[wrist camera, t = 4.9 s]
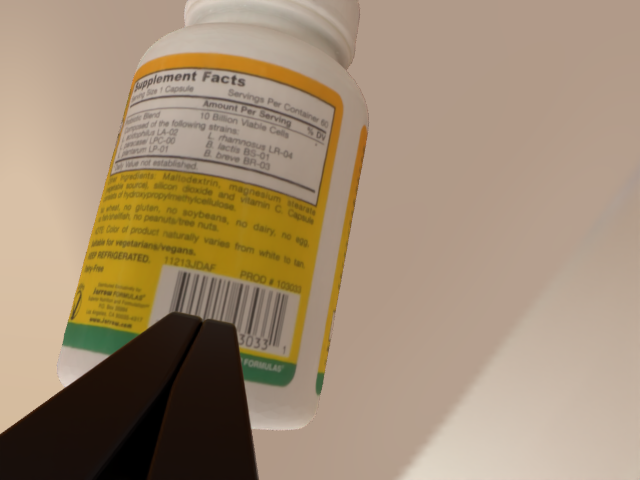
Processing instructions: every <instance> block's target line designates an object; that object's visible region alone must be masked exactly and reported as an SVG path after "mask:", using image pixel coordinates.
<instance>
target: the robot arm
mask: <svg viewBox="0 0 640 480" xmlns="http://www.w3.org/2000/svg"><path fill="white" fill-rule="evenodd" d="M0 480H259V477H258V470H257V463H256V457H255V451H254V444H253V436H252V430H251V423H250V416H249V409H248V403H247V396H246V389H245V382H244V376H243V369H242V362H241V356H240V349H239V342H238V335H237V329H236V326H235V325H234V324H233V323H229V322H224V321H219V320H215V319H206V320H204V321H203V319H202V318H201V317H200V316H196V315H191V314H187V313H182V312H177V311H174V312H171V313H169V314H167V315H166V316H165V317H163V318H162V319H160V320H159V321H158V322H156V323H155V324H153V325H152V326H151V327H149V328H148V329H146V330H145V331H144V332H142V333H141V334H139V335H138V336H137V337H135V338H134V339H132V340H131V341H130V342H128V343H127V344H125V345H124V346H123V347H121V348H120V349H118V350H117V351H116V352H114V353H113V354H111V355H110V356H109V357H107V358H106V359H104V360H103V361H102V362H100V363H99V364H98V365H96V366H95V367H93V368H92V369H91V370H89V371H88V372H86V373H85V374H84V375H82V376H81V377H79V378H78V379H77V380H75V381H74V382H72V383H71V384H70V385H68V386H67V387H65V388H64V389H63V390H61V391H60V392H58V393H57V394H56V395H54V396H53V397H51V398H50V399H49V400H47V401H46V402H45V403H43V404H42V405H40V406H39V407H38V408H36V409H35V410H33V411H32V412H30V413H29V414H28V415H27V416H25V417H24V418H23V419H21V420H19V421H18V422H17V423H15V424H14V425H12V426H11V427H10V428H8V429H7V430H5V431H4V432H3V433H1V434H0Z"/></svg>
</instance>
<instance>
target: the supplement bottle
mask: <svg viewBox="0 0 640 480" xmlns="http://www.w3.org/2000/svg"><path fill="white" fill-rule="evenodd" d="M359 18H360V10H359V3H358V0H187V3H186V6H185V10H184V20H185V27H184V28H180V29H178V30H175V31H173V32H170V33H168V34H167V35H165V36H163V37H162V38H160V39H159V40H157V41H156V42H155V43H154V44H153V45H152V46H150V48H149V49H148V50H147V51H146V52H145V53H144V55H143V57H142V58H141V60H140V62H139V64H138V67H137V69H136V72H135V75H134V79H133V82H132V85H131V89H130V93H129V97H128V101H127V104H126V108H125V112H124V115H123V119H122V122H121V126H120V130H119V134H118V137H117V141H116V145H115V149H114V153H113V156H112V160H111V164H110V169H109V172H108V175H107V179H106V182H105V186H104V190H103V194H102V198H101V201H100V205H99V208H98V212H97V215H96V219H95V223H94V226H93V230H92V234H91V237H90V241H89V245H88V249H87V252H86V256H85V259H84V263H83V267H82V272H81V275H80V279H79V283H78V287H77V290H76V293H75V297H74V301H73V306H72V310H71V313H70V316H69V320H68V324H67V327H66V331H65V334H64V340H63V344H62V348H61V351H60V355H59V359H58V363H57V374H58V377H59V379H60V382H61V383H62V385H63V386H64V387H67V386H68V385H70V384H71V383H72V382H74V381H75V380H77V379H78V378H79V377H81V376H82V375H84V374H85V373H86V372H88V371H89V370H91V369H92V368H93V367H95V366H96V365H98V364H99V363H100V362H102V361H103V360H104V359H106V358H107V357H109V356H110V355H111V354H113V353H114V352H116V351H117V350H118V349H120V348H121V347H123V346H124V345H125V344H127V343H128V342H130V341H131V340H132V339H134V338H135V337H137V336H138V335H139V334H141V333H142V332H144V331H145V330H146V329H148V328H149V327H151V326H152V325H153V324H155V323H156V322H158V321H159V320H160V319H162V318H163V317H165V316H166V315H167V314H169V313H171V312H174V311H177V312H182V313H187V314H191V315H196V316H200V317H201V318H202V319H203V321H204V320H206V319H215V320H219V321H224V322H229V323H233V324H234V325H235V326H236V329H237V335H238V342H239V349H240V356H241V362H242V369H243V376H244V382H245V389H246V396H247V403H248V409H249V416H250V423H251V428H252V429H268V430H293V429H300V428H303V427H304V426H306V425H307V424H308V423H310V422H311V420H312V419H313V418H314V417H315V415H316V412H317V409H318V405H319V399H320V393H321V389H322V385H323V379H324V373H325V367H326V362H327V356H328V351H329V346H330V340H331V336H332V330H333V323H334V317H335V311H336V305H337V300H338V294H339V289H340V284H341V278H342V272H343V267H344V261H345V255H346V251H347V245H348V239H349V234H350V228H351V222H352V216H353V212H354V207H355V200H356V195H357V190H358V184H359V179H360V174H361V168H362V162H363V157H364V152H365V146H366V140H367V134H368V126H369V117H368V110H367V106H366V102H365V99H364V97H363V94H362V92H361V90H360V88H359V87H358V85H357V83H356V82H355V81H354V79H353V78H352V77H351V76H350V74H349V73H348V72H347V71H346V70H347V69H348V67H349V66H350V64H351V63H352V61H353V58H354V54H355V43H356V37H357V30H358V24H359Z"/></svg>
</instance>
